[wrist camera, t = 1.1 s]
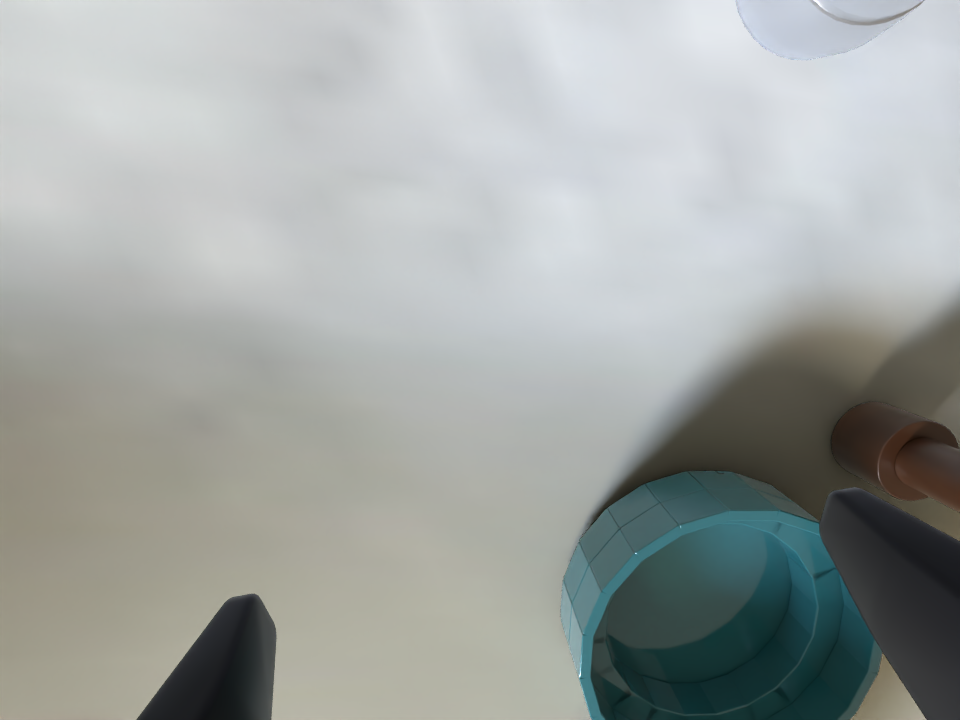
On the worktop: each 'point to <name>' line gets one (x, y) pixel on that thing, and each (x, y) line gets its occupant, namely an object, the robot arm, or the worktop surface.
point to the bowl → (713, 608)
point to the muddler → (899, 453)
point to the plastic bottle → (819, 24)
